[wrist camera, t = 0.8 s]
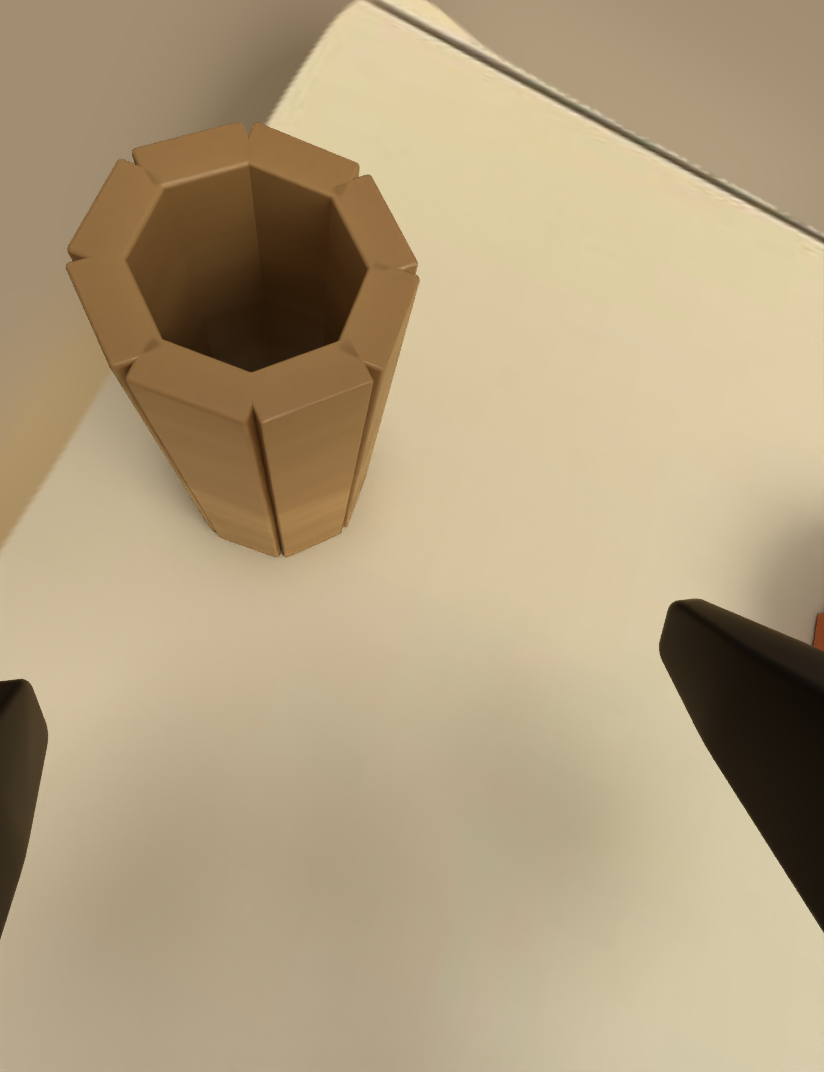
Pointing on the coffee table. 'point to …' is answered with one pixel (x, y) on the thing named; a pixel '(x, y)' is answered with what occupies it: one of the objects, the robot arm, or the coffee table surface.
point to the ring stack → (819, 632)
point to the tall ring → (250, 321)
